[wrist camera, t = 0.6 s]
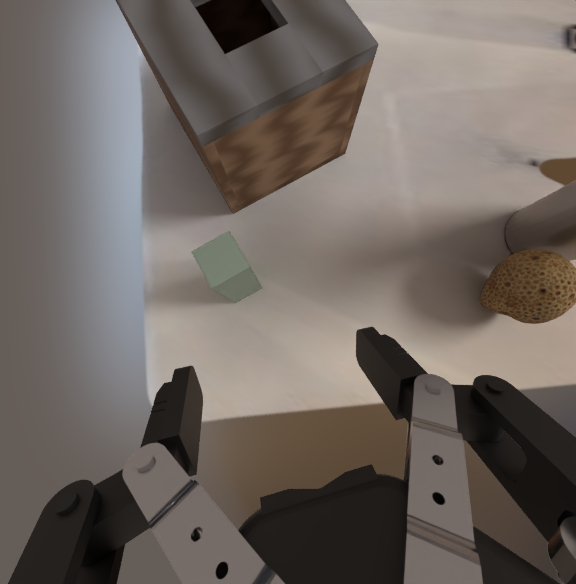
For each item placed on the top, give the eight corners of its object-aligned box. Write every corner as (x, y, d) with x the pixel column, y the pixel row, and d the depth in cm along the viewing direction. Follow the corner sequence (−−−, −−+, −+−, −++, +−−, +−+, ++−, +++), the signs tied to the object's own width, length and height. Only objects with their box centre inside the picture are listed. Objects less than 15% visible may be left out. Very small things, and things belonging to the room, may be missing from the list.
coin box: (275, 52, 45) (268, -101, 29) (345, 153, 42) (378, 43, 26) (169, 104, 44) (101, -27, 28) (233, 213, 41) (197, 135, 25)
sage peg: (247, 262, 39) (229, 230, 27) (262, 287, 39) (250, 266, 27) (221, 277, 39) (191, 251, 27) (235, 303, 38) (211, 288, 26)
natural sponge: (540, 287, 38) (627, 271, 29) (510, 338, 37) (590, 339, 27) (485, 252, 39) (550, 224, 29) (454, 300, 38) (511, 288, 28)
